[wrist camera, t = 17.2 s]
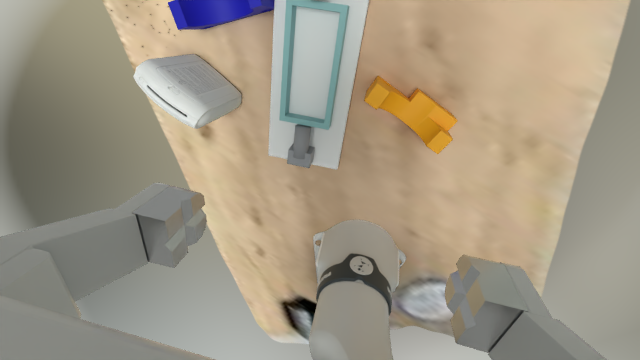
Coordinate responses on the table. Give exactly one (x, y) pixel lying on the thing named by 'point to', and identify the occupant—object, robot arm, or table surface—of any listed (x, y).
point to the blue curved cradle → (215, 11)
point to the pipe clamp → (414, 113)
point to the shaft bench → (313, 78)
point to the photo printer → (187, 89)
